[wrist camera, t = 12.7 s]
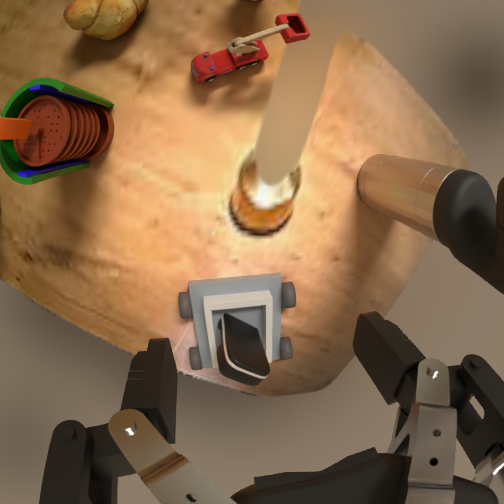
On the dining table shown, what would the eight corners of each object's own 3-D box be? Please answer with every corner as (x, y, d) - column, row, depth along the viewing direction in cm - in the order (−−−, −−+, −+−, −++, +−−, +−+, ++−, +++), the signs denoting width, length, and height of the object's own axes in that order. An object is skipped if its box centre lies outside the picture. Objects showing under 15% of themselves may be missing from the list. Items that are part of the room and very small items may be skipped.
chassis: (289, 271, 45) (296, 283, 41) (286, 352, 51) (291, 366, 47) (178, 281, 42) (176, 295, 39) (193, 363, 49) (193, 378, 45)
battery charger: (210, 327, 44) (214, 377, 34) (223, 310, 44) (230, 360, 33) (246, 343, 47) (257, 393, 36) (259, 328, 46) (274, 377, 35)
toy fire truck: (188, 67, 31) (183, 44, 22) (280, 36, 31) (301, 10, 22) (197, 87, 33) (195, 69, 24) (289, 55, 32) (313, 33, 24)
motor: (108, 169, 35) (30, 196, 16) (56, 164, 33) (-35, 191, 14) (120, 98, 31) (49, 65, 13) (67, 97, 29) (-21, 79, 11)
